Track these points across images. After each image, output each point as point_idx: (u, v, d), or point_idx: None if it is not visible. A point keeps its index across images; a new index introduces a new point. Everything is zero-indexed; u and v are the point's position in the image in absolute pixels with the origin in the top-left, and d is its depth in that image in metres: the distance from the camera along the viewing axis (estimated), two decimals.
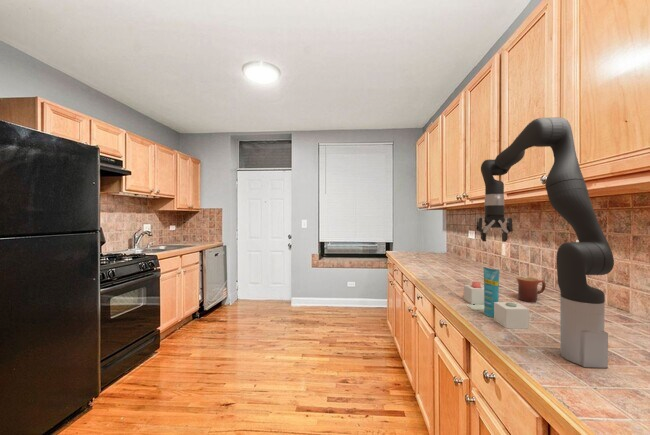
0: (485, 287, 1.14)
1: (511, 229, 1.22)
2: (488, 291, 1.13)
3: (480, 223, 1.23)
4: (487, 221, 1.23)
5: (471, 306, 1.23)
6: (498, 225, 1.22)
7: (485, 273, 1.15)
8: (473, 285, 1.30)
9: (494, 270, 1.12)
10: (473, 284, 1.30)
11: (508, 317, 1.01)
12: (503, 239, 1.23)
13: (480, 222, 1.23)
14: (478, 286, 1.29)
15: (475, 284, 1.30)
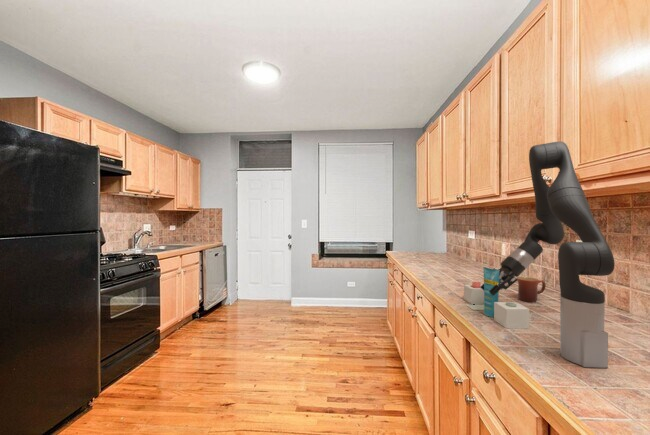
0: (485, 287, 1.14)
1: (502, 283, 1.08)
2: (488, 291, 1.13)
3: None
4: None
5: (471, 306, 1.23)
6: None
7: (485, 273, 1.15)
8: (473, 285, 1.30)
9: (494, 270, 1.12)
10: (473, 284, 1.30)
11: (508, 317, 1.01)
12: None
13: None
14: (478, 286, 1.29)
15: (475, 284, 1.30)
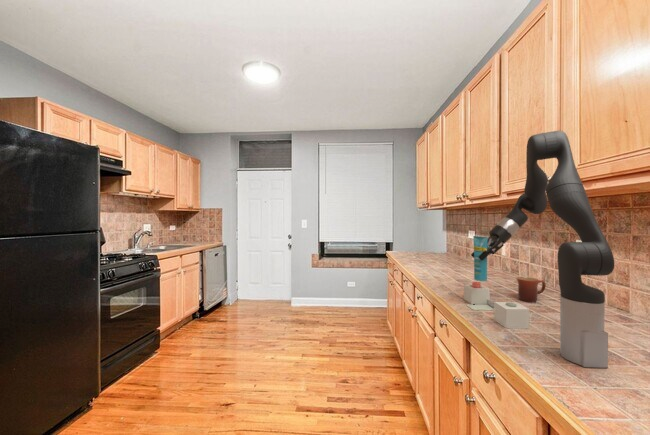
0: (475, 254, 1.23)
1: (490, 248, 1.16)
2: (477, 257, 1.22)
3: None
4: None
5: (471, 306, 1.23)
6: (488, 243, 1.21)
7: (475, 241, 1.24)
8: (473, 285, 1.30)
9: (483, 237, 1.21)
10: (473, 284, 1.30)
11: (508, 317, 1.01)
12: None
13: None
14: (478, 286, 1.29)
15: (475, 284, 1.30)
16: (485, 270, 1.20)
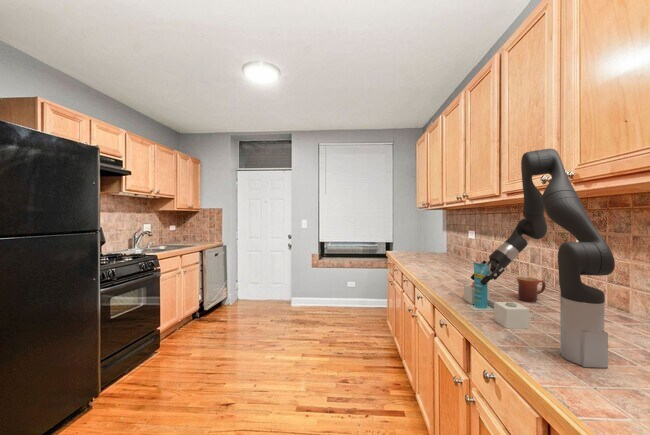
0: (475, 281, 1.23)
1: (491, 274, 1.16)
2: (477, 285, 1.22)
3: None
4: None
5: (471, 306, 1.23)
6: (488, 268, 1.21)
7: (475, 268, 1.24)
8: (473, 285, 1.30)
9: (483, 265, 1.21)
10: (473, 284, 1.30)
11: (508, 317, 1.01)
12: None
13: (481, 263, 1.29)
14: None
15: None
16: (485, 298, 1.20)
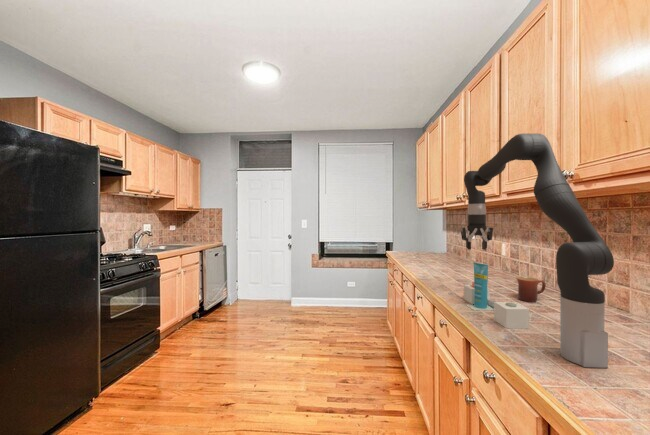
0: (475, 281, 1.23)
1: (490, 238, 1.29)
2: (477, 285, 1.22)
3: (464, 232, 1.30)
4: (470, 230, 1.30)
5: (471, 306, 1.23)
6: (479, 233, 1.29)
7: (475, 268, 1.24)
8: (473, 285, 1.30)
9: (483, 265, 1.21)
10: (473, 284, 1.30)
11: (508, 317, 1.01)
12: (483, 247, 1.30)
13: (464, 231, 1.30)
14: None
15: None
16: (485, 298, 1.20)
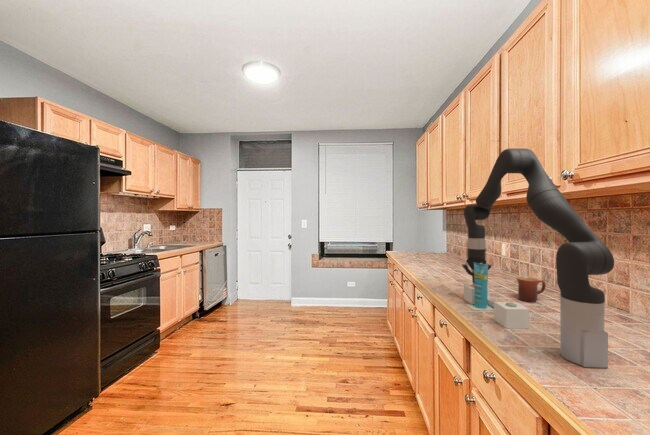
0: (475, 281, 1.23)
1: None
2: (477, 285, 1.22)
3: (467, 269, 1.30)
4: (471, 266, 1.30)
5: (471, 306, 1.23)
6: None
7: (475, 268, 1.24)
8: (473, 287, 1.30)
9: (483, 265, 1.21)
10: (473, 286, 1.30)
11: (508, 317, 1.01)
12: None
13: (467, 268, 1.30)
14: None
15: None
16: (485, 298, 1.20)
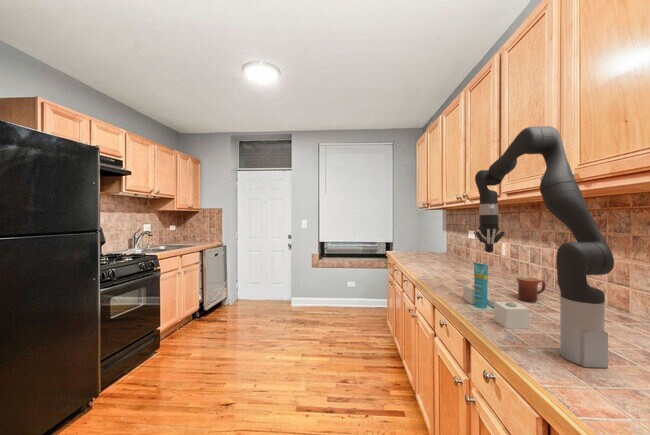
0: (475, 281, 1.23)
1: (497, 241, 1.25)
2: (477, 285, 1.22)
3: (480, 236, 1.26)
4: (484, 233, 1.26)
5: (471, 306, 1.23)
6: (490, 233, 1.26)
7: (475, 268, 1.24)
8: None
9: (483, 265, 1.21)
10: (473, 287, 1.30)
11: (508, 317, 1.01)
12: None
13: (479, 235, 1.26)
14: None
15: None
16: (485, 298, 1.20)
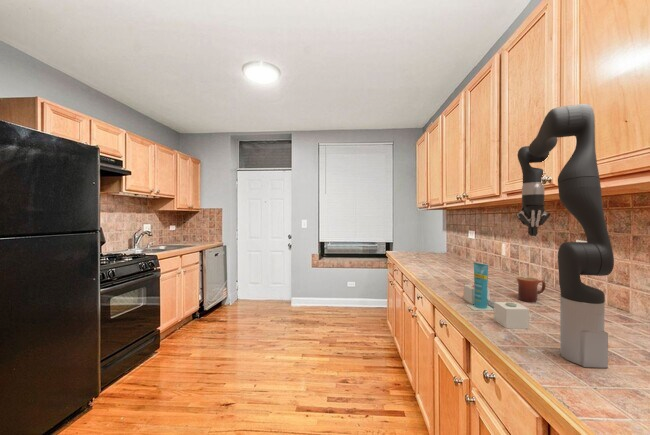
0: (475, 281, 1.23)
1: (542, 223, 1.15)
2: (477, 285, 1.22)
3: (523, 218, 1.15)
4: (527, 215, 1.15)
5: (471, 306, 1.23)
6: (534, 214, 1.15)
7: (475, 268, 1.24)
8: None
9: (483, 265, 1.21)
10: (473, 287, 1.30)
11: (508, 317, 1.01)
12: None
13: (523, 217, 1.15)
14: None
15: None
16: (485, 298, 1.20)
